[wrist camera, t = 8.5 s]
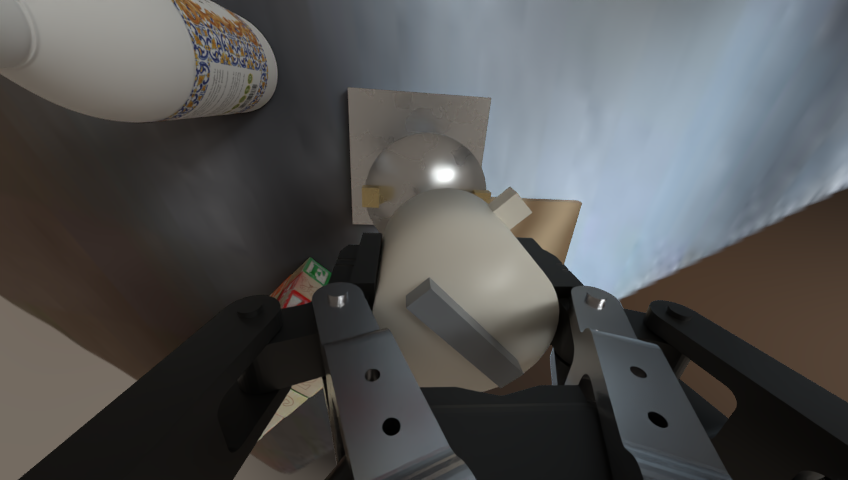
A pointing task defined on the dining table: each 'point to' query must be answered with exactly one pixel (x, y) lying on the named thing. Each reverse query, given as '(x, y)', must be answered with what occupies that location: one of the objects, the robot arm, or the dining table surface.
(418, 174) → the knob on square base
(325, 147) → the dining table surface
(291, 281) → the stack of blocks
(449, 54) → the dining table surface
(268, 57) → the bath foam
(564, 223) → the coaster
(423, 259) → the cap
